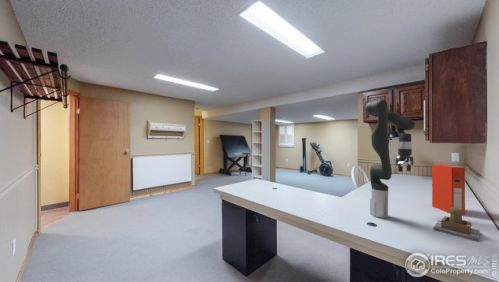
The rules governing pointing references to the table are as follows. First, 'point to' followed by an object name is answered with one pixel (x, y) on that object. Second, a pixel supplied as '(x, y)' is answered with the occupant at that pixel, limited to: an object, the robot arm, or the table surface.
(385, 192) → the robot arm
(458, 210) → the cork
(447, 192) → the file binder
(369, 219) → the table surface
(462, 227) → the socket block
